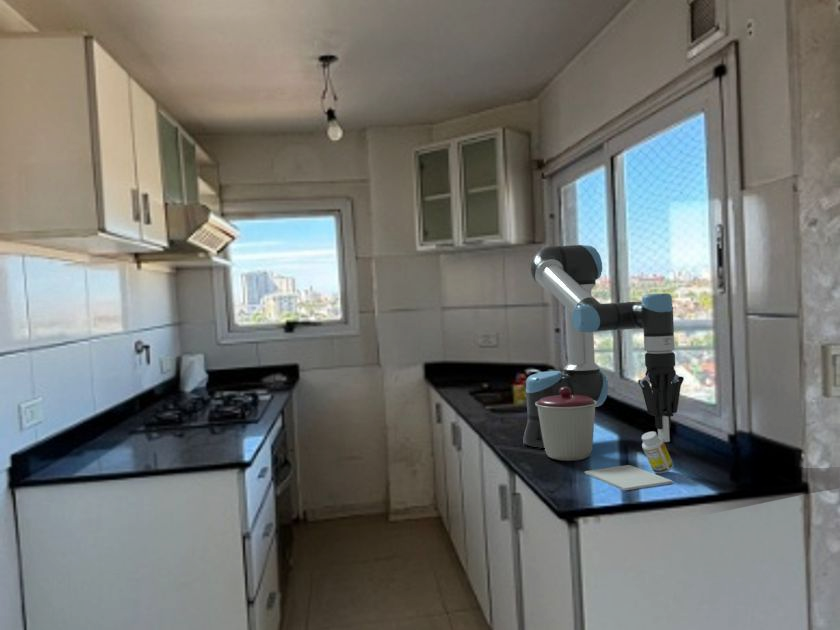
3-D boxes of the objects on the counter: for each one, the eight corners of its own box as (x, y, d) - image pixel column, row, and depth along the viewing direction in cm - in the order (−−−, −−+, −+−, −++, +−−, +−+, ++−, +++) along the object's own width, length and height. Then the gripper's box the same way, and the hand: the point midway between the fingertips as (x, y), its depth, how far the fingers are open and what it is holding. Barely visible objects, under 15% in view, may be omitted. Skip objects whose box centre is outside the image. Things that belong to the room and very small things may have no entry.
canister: (526, 455, 199) (523, 386, 198) (576, 447, 205) (573, 381, 205) (559, 467, 182) (555, 393, 181) (612, 459, 188) (609, 387, 188)
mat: (584, 473, 175) (584, 471, 175) (629, 467, 179) (629, 464, 179) (624, 490, 157) (624, 488, 157) (672, 483, 161) (672, 480, 161)
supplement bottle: (667, 460, 174) (653, 427, 173) (678, 467, 169) (663, 433, 167) (649, 469, 174) (634, 436, 172) (659, 477, 168) (644, 443, 167)
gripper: (647, 354, 165) (652, 446, 166) (689, 350, 169) (694, 440, 170) (629, 353, 173) (634, 441, 173) (670, 349, 177) (674, 435, 177)
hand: (663, 440), depth 171 cm, fingers closed
